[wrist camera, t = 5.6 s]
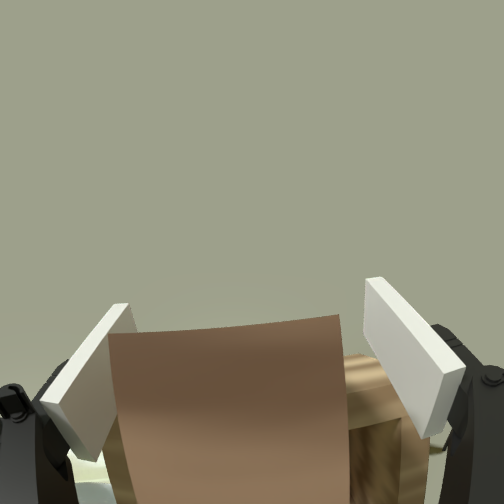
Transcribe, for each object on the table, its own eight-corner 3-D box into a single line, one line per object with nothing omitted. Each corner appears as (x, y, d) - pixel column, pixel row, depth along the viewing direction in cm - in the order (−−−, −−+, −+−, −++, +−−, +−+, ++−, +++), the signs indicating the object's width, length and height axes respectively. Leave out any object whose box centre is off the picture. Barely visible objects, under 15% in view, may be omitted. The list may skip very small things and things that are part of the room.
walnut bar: (349, 514, 4) (338, 314, 5) (143, 520, 4) (107, 333, 5) (284, 364, 27) (280, 321, 28) (241, 368, 28) (236, 326, 28)
